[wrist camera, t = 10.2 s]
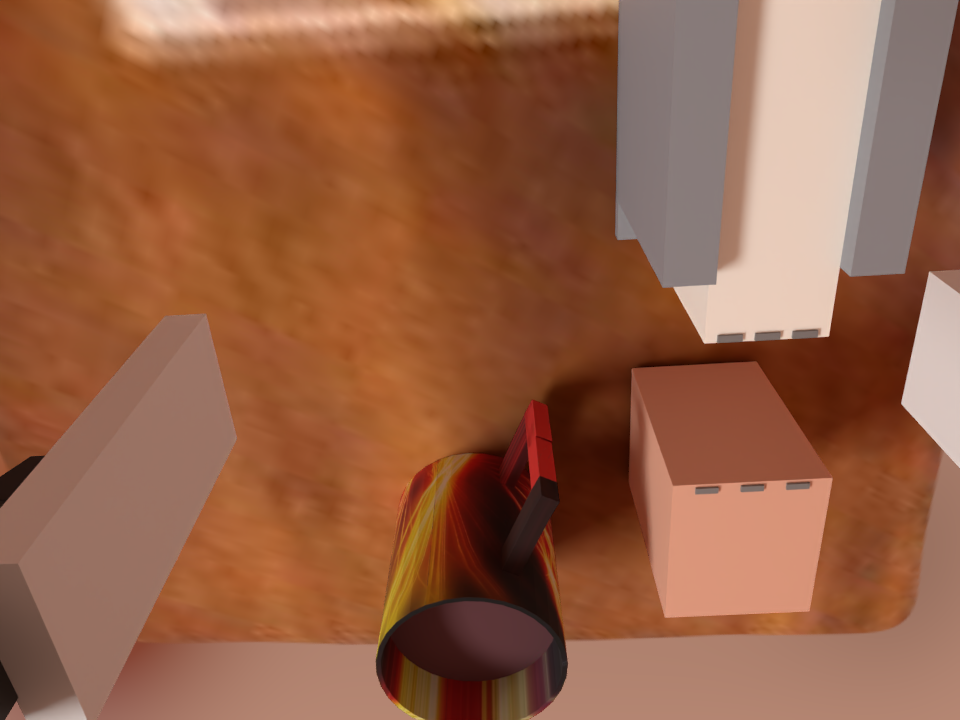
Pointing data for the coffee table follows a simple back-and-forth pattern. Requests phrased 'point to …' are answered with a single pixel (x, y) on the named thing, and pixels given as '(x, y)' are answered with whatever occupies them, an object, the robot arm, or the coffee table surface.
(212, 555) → the coffee table surface
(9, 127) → the coffee table surface
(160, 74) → the coffee table surface
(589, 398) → the coffee table surface
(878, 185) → the two-tone box
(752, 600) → the stub
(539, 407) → the mug
